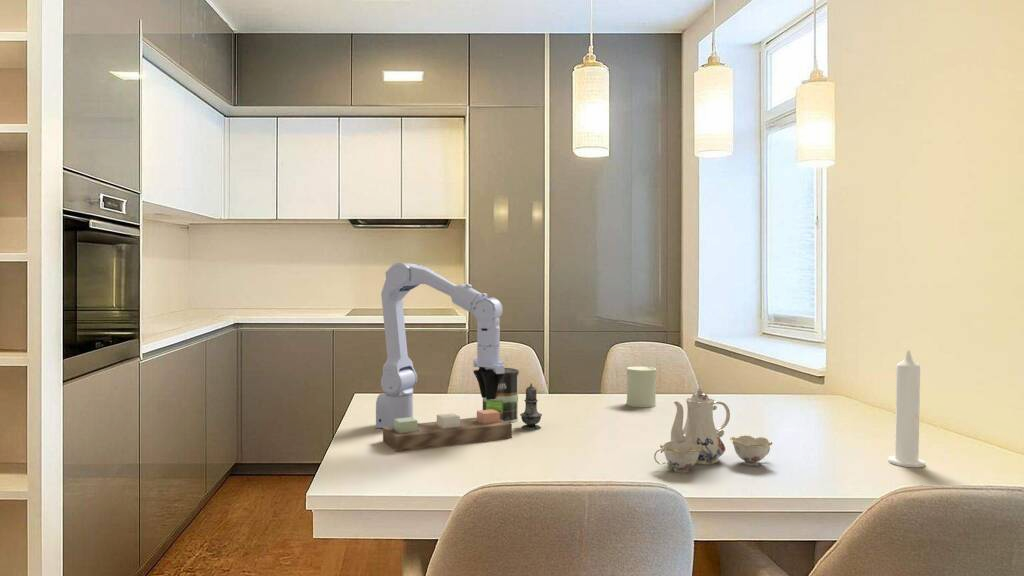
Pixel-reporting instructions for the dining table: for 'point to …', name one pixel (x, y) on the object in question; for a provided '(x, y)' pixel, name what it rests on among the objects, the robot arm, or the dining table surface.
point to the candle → (907, 414)
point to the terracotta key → (488, 416)
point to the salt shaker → (531, 410)
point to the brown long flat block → (446, 434)
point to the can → (641, 386)
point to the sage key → (405, 425)
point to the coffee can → (505, 397)
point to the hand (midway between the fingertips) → (488, 398)
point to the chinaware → (706, 437)
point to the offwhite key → (448, 420)
